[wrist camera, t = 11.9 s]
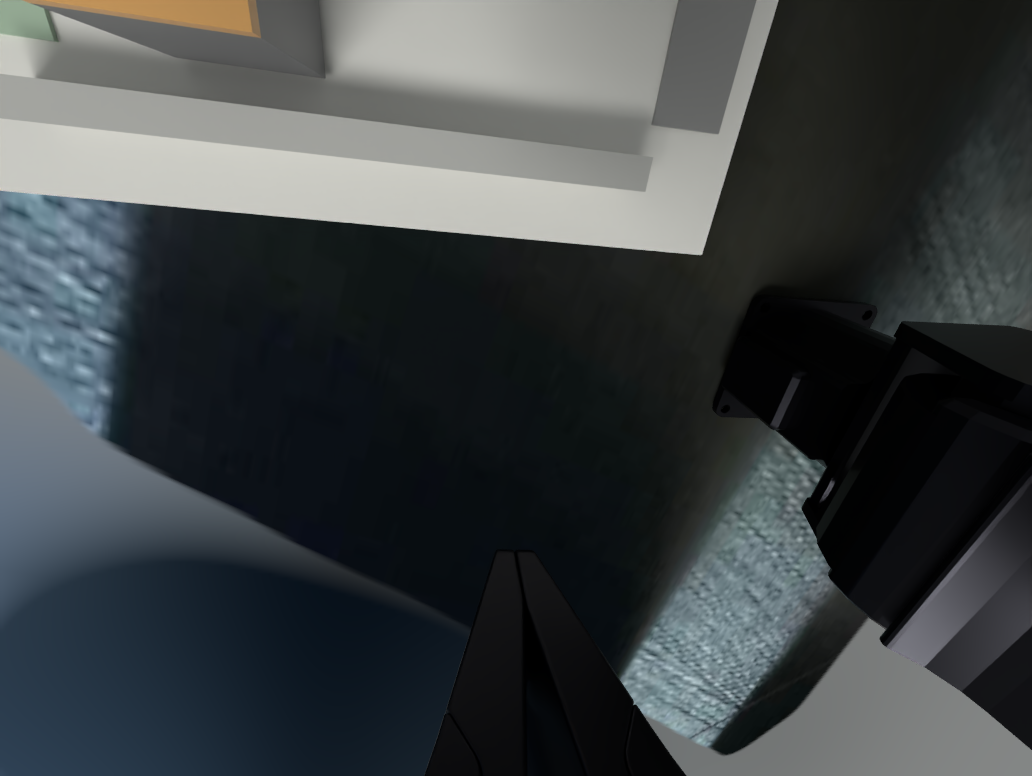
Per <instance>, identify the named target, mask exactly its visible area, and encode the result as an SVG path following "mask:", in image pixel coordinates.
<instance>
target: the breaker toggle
mask: <svg viewBox="0 0 1032 776" xmlns="http://www.w3.org/2000/svg"><path fill="white" fill-rule="evenodd" d="M23 1H25V2H28V3H31V4H34V5H36V6H39V7H42V8H44V9H47V10H50V11H52V12H55V13H58V14H60V15H63V16H66V17H68V18H71V19H74V20H76V21H79V22H82V23H84V24H87V25H90V26H92V27H95V28H98V29H100V30H103V31H106V32H108V33H111V34H114V35H117V36H119V37H122V38H125V39H127V40H130V41H133V42H135V43H138V44H141V45H143V46H146V47H149V48H151V49H154V50H157V51H159V52H162V53H165V54H167V55H170V56H173V57H175V58H182V59H189V60H196V61H203V62H210V63H217V64H225V65H232V66H239V67H246V68H253V69H260V70H267V71H274V72H282V73H289V74H296V75H303V76H310V77H317V78H324V79H326V75H325V64H324V53H323V42H322V30H321V19H320V8H319V0H23Z"/></svg>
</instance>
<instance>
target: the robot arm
mask: <svg viewBox="0 0 1032 776" xmlns="http://www.w3.org/2000/svg"><path fill="white" fill-rule="evenodd" d="M764 303H765V306H764V308H763V309H761V310H760V307H761V306H762V305H763V304H764ZM864 312H865V313H864ZM863 314H864V315H863ZM862 315H863V316H862ZM876 315H877V308H876V306H873V305H870V304H867V303H861V302H848V301H836V300H823V299H810V298H797V297H785V296H772V295H760V296H758V297H756V298H755V299H754V300H753V301H752V303H751V305H750V307H749V310H748V313H747V315H746V318H745V321H744V323H743V326H742V329H741V331H740V334H739V337H738V339H737V342H736V344H735V347H734V350H733V352H732V355H731V358H730V360H729V363H728V366H727V368H726V371H725V374H724V376H723V379H722V382H721V385H720V387H719V390H718V393H717V395H716V398H715V401H714V403H713V407H712V408H713V411H714V412H715V413H716V414H717V415H718V416H720V417H738V418H759V419H760V420H761V421H762V422H764V423H765V424H766V425H767V426H768V427H769V428H771V429H772V430H776V431H777V432H778V433H779V434H780V435H782V436H783V437H784V438H785V439H786V440H787V441H789V442H790V443H791V444H792V445H793V446H795V447H796V448H797V449H798V450H799V451H800V452H802V453H803V454H804V455H805V456H806V457H808V458H809V459H812V460H816V461H818V462H819V463H820V464H821V465H822V466H824V467H825V468H826V469H825V471H824V473H823V474H822V476H821V478H820V480H819V482H818V484H817V486H816V487H815V489H814V491H813V493H812V495H811V497H809V498H807V499H806V500H805V502H804V504H803V506H802V511H803V513H804V515H805V517H806V518H807V520H808V522H809V524H810V526H811V528H812V530H813V532H814V534H815V536H816V538H817V544H818V546H819V548H820V550H821V552H822V554H823V556H824V557H825V559H826V561H827V563H828V565H829V566H830V568H831V569H830V570H829V572H828V576H829V578H830V579H831V581H832V582H833V583H834V584H835V586H836V587H837V588H838V589H839V590H840V591H841V592H842V593H843V594H844V595H845V596H846V597H847V599H848V600H849V601H850V602H851V603H853V604H854V605H855V606H856V607H857V608H858V609H860V610H861V611H862V612H863V613H864V614H865V615H867V616H868V617H869V618H870V619H871V620H873V621H874V622H876V623H877V624H879V625H880V626H882V627H883V628H884V629H886V631H885V632H884V633H883V634H882V635H881V636H880V641H881V642H882V644H883V645H884V646H886V647H887V648H889V649H891V650H892V651H894V652H896V653H898V654H900V655H902V656H904V657H906V658H908V659H910V660H912V661H914V662H916V663H917V664H920V665H921V666H923V667H925V668H927V669H928V670H930V671H931V672H933V673H934V674H936V675H937V676H939V677H940V678H942V679H943V680H945V681H946V682H948V683H949V684H951V685H952V686H954V687H955V688H957V689H958V690H960V691H961V692H962V693H964V694H965V695H966V696H967V697H969V698H970V699H971V700H972V701H974V702H975V703H976V704H977V705H979V706H980V707H981V708H983V709H984V710H985V711H986V712H988V713H989V714H990V715H991V716H992V717H994V718H995V719H996V720H997V721H998V722H999V723H1001V724H1002V725H1003V726H1004V727H1005V728H1006V729H1008V730H1009V731H1010V732H1011V733H1012V734H1013V735H1015V736H1016V737H1017V738H1018V739H1019V740H1021V741H1022V742H1023V743H1024V744H1025V745H1027V746H1028V747H1029V748H1030V749H1031V750H1032V331H1030V330H1026V329H1022V328H1017V327H1012V326H999V325H977V324H954V323H931V322H909V321H902V322H901V324H900V325H899V327H898V329H897V331H896V333H895V335H894V337H896V339H895V338H893V337H890V336H888V335H885V334H883V333H880V332H878V331H875V330H873V329H870V326H871V325H872V323H873V321H874V319H875V317H876ZM724 405H726V406H725V407H724V408H723V409H721V408H722V407H723V406H724ZM633 704H634V701H633V699H632V698H631V696H630V694H629V693H628V691H627V690H626V688H625V687H624V685H623V684H622V682H621V681H620V679H619V678H618V676H617V675H616V673H615V672H614V670H613V669H612V667H611V666H610V664H609V663H608V661H607V660H606V658H605V657H604V655H603V654H602V652H601V651H600V649H599V648H598V646H597V645H596V643H595V642H594V640H593V639H592V637H591V636H590V634H589V633H588V631H587V630H586V628H585V627H584V625H583V624H582V622H581V621H580V619H579V618H578V616H577V615H576V613H575V612H574V610H573V609H572V607H571V606H570V604H569V603H568V601H567V600H566V598H565V597H564V595H563V594H562V592H561V591H560V589H559V588H558V586H557V585H556V583H555V582H554V580H553V579H552V577H551V576H550V574H549V573H548V571H547V570H546V568H545V567H544V565H543V564H542V562H541V561H540V559H539V558H538V556H537V555H536V553H535V552H534V551H532V550H516V551H515V552H514V551H513V550H503V549H498V550H496V552H495V554H494V558H493V561H492V564H491V567H490V570H489V574H488V577H487V580H486V583H485V586H484V590H483V593H482V596H481V599H480V603H479V606H478V609H477V612H476V615H475V619H474V622H473V625H472V628H471V631H470V635H469V638H468V641H467V644H466V648H465V651H464V654H463V657H462V661H461V664H460V667H459V670H458V673H457V677H456V680H455V683H454V686H453V689H452V693H451V696H450V699H449V702H448V705H447V709H446V714H445V715H444V718H443V721H442V724H441V727H440V730H439V734H438V737H437V740H436V743H435V746H434V749H433V752H432V755H431V758H430V760H429V763H428V766H427V769H426V772H425V775H424V776H686V775H685V773H684V772H683V771H682V769H681V768H680V767H679V765H678V764H677V763H676V761H675V760H674V759H673V758H672V756H671V755H670V753H669V752H668V750H667V749H666V748H665V746H664V745H663V743H662V742H661V740H660V739H659V738H658V736H657V735H656V733H655V732H654V730H653V729H652V728H651V726H650V724H649V723H648V721H647V720H646V718H645V717H644V715H643V714H642V712H641V711H640V709H639V708H638V706H637V705H633Z"/></svg>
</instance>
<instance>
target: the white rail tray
mask: <svg viewBox="0 0 1032 776" xmlns="http://www.w3.org/2000/svg"><path fill="white" fill-rule="evenodd" d="M778 1H779V0H319V8H320V19H321V30H322V42H323V53H324V64H325V75H326V79H324V78H317V77H310V76H303V75H296V74H289V73H282V72H274V71H267V70H260V69H253V68H246V67H239V66H232V65H225V64H217V63H210V62H203V61H196V60H189V59H182V58H175V57H173V56H170V55H167V54H165V53H162V52H159V51H157V50H154V49H151V48H149V47H146V46H143V45H141V44H138V43H135V42H133V41H130V40H127V39H125V38H122V37H119V36H117V35H114V34H111V33H108V32H106V31H103V30H100V29H98V28H95V27H92V26H90V25H87V24H84V23H82V22H79V21H76V20H74V19H71V18H68V17H66V16H63V15H60V14H58V13H55V12H52V11H50V10H47V9H44V8H42V7H39V6H36V5H34V4H31V3H28V2H25V1H23V0H0V191H10V192H21V193H31V194H42V195H53V196H64V197H75V198H86V199H97V200H107V201H118V202H129V203H140V204H151V205H162V206H173V207H183V208H194V209H205V210H216V211H227V212H238V213H249V214H259V215H270V216H281V217H292V218H303V219H314V220H325V221H335V222H346V223H357V224H368V225H379V226H390V227H401V228H412V229H422V230H433V231H444V232H455V233H466V234H477V235H488V236H498V237H509V238H520V239H531V240H542V241H553V242H564V243H574V244H585V245H596V246H607V247H618V248H629V249H640V250H650V251H661V252H672V253H683V254H694V255H702V253H703V249H704V246H705V243H706V239H707V236H708V233H709V229H710V226H711V223H712V219H713V216H714V213H715V210H716V206H717V203H718V200H719V196H720V193H721V190H722V186H723V183H724V180H725V176H726V173H727V170H728V166H729V163H730V160H731V156H732V153H733V150H734V147H735V143H736V140H737V137H738V133H739V130H740V127H741V123H742V120H743V117H744V113H745V110H746V107H747V103H748V100H749V97H750V94H751V90H752V87H753V84H754V80H755V77H756V74H757V70H758V67H759V64H760V60H761V57H762V54H763V50H764V47H765V44H766V41H767V37H768V34H769V31H770V27H771V24H772V21H773V17H774V14H775V11H776V7H777V4H778Z"/></svg>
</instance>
